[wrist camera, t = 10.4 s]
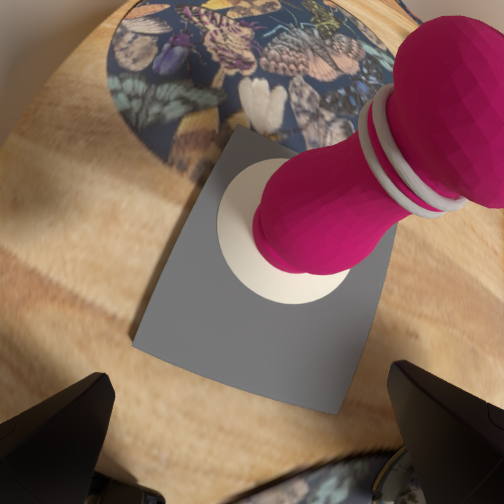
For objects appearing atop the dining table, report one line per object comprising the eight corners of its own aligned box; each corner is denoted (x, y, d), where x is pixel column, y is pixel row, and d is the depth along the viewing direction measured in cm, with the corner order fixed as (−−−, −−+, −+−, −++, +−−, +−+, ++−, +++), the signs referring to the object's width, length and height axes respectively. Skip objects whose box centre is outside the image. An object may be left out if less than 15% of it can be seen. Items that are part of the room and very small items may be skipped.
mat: (332, 411, 20) (337, 415, 19) (133, 344, 18) (131, 346, 17) (393, 216, 25) (399, 213, 24) (236, 129, 22) (238, 123, 21)
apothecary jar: (353, 471, 20) (495, 560, 2) (440, 405, 23) (578, 431, 6) (369, 528, 19) (465, 598, 1) (443, 471, 22) (546, 507, 5)
